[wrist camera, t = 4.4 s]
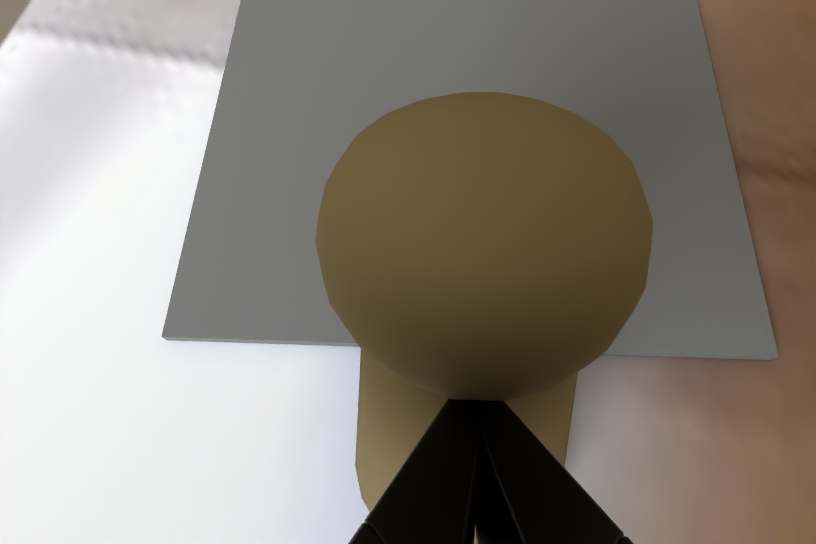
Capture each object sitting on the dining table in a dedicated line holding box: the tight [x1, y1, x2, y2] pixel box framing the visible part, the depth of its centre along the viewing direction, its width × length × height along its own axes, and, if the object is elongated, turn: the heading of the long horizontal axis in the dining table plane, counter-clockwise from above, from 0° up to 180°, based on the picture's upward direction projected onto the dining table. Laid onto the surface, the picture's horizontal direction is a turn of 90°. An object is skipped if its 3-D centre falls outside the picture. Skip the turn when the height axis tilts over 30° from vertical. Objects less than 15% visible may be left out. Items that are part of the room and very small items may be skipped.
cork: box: [315, 92, 653, 544], centre depth 12 cm, size 6×6×11 cm
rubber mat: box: [162, 0, 779, 360], centre depth 21 cm, size 16×20×1 cm
